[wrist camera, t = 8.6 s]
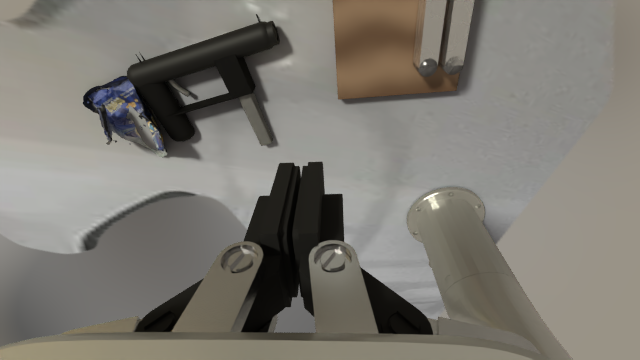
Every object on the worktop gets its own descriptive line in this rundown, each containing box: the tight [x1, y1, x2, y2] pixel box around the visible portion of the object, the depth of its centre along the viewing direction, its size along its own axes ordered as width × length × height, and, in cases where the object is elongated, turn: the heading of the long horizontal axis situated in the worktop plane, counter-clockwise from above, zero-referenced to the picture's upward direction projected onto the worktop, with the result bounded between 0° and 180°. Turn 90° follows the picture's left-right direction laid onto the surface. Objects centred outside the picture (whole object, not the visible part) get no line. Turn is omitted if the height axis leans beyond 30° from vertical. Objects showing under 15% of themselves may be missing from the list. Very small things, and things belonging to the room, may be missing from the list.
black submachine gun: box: [127, 14, 280, 146], centre depth 41 cm, size 3×20×16 cm
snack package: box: [83, 76, 167, 158], centre depth 42 cm, size 12×6×12 cm
